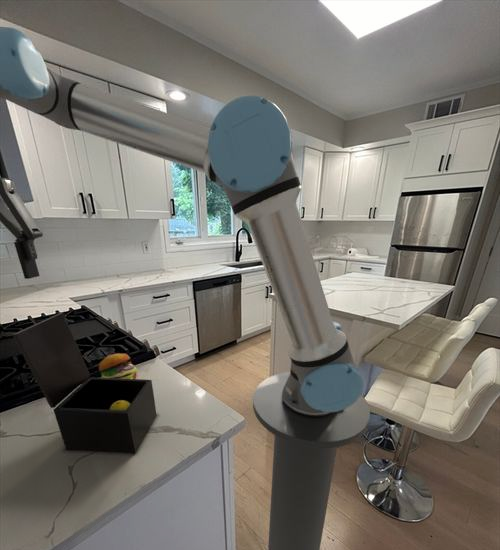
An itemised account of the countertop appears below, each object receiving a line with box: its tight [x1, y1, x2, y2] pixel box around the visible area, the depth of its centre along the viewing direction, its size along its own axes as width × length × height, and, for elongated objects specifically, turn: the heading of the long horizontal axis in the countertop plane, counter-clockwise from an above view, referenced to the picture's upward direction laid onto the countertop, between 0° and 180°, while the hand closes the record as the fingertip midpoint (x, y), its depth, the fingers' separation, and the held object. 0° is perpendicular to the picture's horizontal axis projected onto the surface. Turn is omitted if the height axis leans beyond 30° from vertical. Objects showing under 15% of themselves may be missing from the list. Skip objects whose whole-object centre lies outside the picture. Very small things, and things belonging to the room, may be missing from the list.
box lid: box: [12, 312, 91, 409], centre depth 59 cm, size 16×13×1 cm
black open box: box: [53, 376, 158, 454], centre depth 64 cm, size 16×13×11 cm
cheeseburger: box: [98, 353, 138, 379], centre depth 86 cm, size 10×11×10 cm
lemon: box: [109, 400, 130, 411], centre depth 64 cm, size 6×6×8 cm
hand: (0, 276), depth 53 cm, fingers open, 12 cm apart
